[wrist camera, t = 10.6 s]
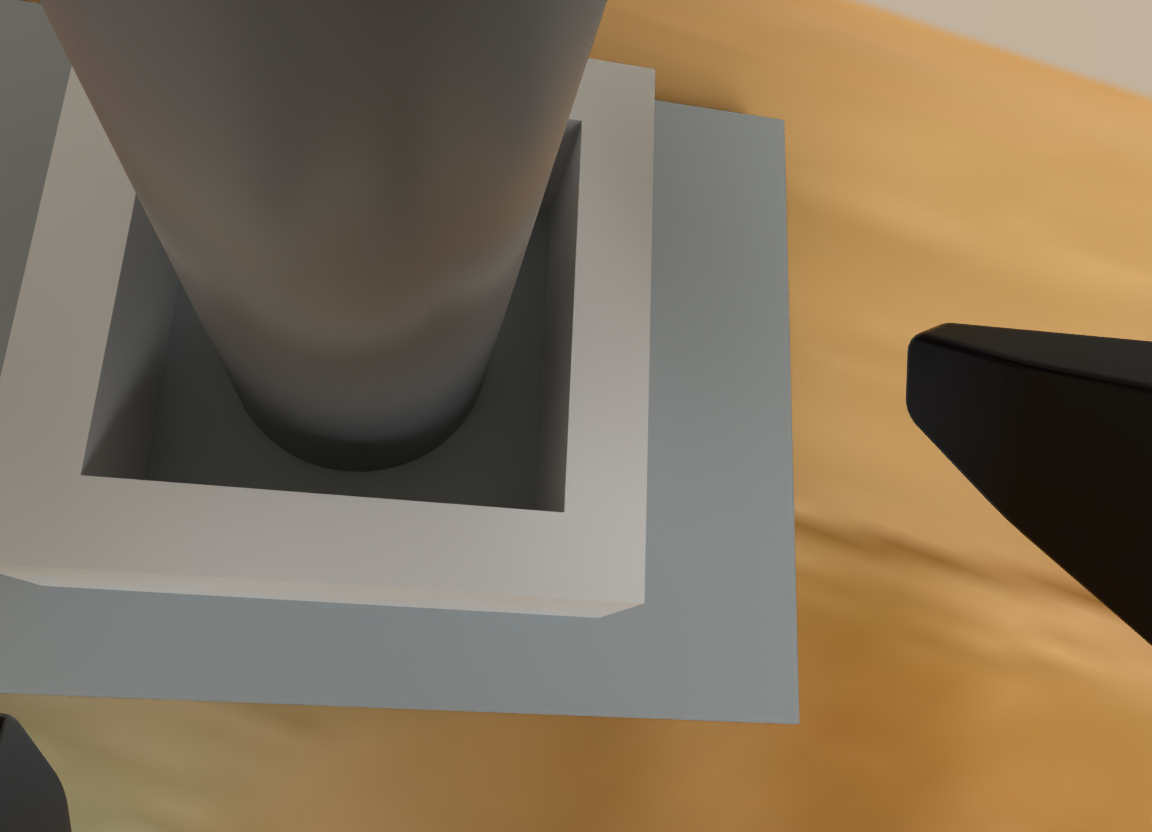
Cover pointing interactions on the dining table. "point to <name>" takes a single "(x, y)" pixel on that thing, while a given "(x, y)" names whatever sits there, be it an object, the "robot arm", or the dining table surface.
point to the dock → (428, 484)
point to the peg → (339, 190)
